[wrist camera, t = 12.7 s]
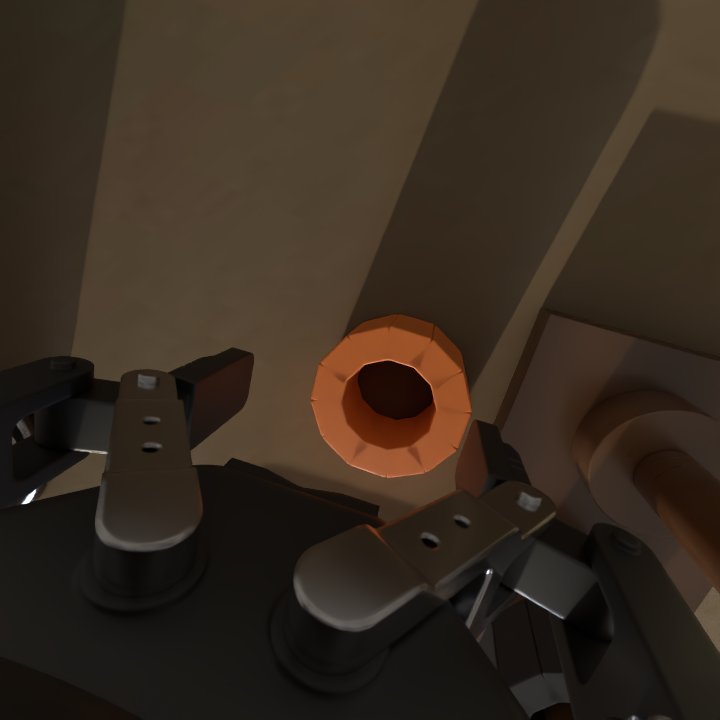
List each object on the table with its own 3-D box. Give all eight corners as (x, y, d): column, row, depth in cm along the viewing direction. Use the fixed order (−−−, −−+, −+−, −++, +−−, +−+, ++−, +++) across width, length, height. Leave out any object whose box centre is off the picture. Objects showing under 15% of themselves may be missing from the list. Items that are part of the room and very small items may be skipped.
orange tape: (319, 419, 20) (298, 447, 17) (350, 298, 18) (331, 307, 15) (441, 460, 19) (440, 497, 16) (486, 339, 17) (493, 356, 14)
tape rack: (418, 608, 22) (401, 813, 14) (540, 307, 16) (626, 359, 8) (608, 683, 20) (708, 955, 12) (806, 382, 15) (1195, 525, 7)
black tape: (460, 679, 18) (462, 761, 15) (511, 573, 16) (525, 645, 13) (603, 738, 17) (635, 836, 14) (675, 634, 15) (729, 724, 12)
